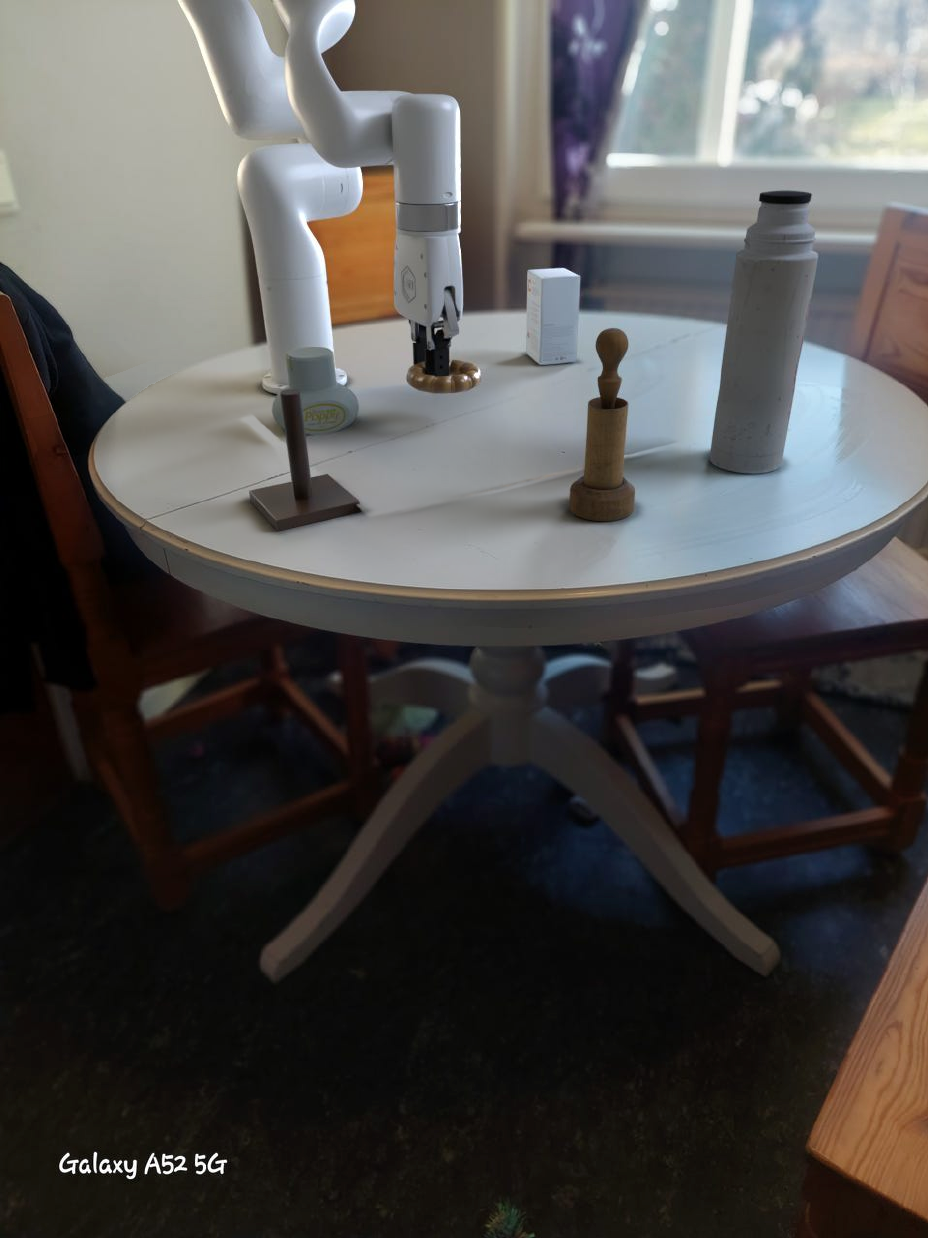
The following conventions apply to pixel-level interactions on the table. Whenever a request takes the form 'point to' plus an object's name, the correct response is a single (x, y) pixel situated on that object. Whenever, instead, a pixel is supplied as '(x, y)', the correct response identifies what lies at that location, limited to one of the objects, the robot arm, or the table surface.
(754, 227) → the thermos bottle
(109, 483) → the table surface
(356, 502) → the peg stand
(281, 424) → the air freshener
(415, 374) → the lobed golden ring
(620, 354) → the mortar and pestle
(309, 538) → the table surface
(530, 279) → the small box
